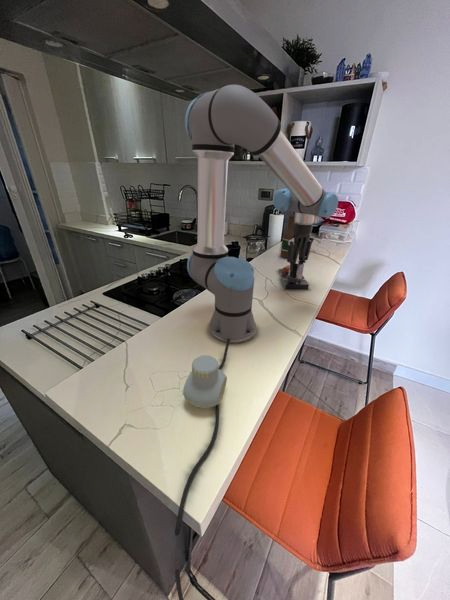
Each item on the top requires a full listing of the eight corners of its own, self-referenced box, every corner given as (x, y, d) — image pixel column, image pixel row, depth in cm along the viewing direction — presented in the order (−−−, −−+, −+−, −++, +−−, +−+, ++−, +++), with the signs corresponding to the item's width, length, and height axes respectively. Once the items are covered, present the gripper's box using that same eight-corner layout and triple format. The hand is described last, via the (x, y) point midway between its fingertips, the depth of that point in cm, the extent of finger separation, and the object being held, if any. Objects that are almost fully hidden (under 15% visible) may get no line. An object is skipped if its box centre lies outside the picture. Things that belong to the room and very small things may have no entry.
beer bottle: (277, 255, 153) (282, 213, 141) (288, 253, 156) (293, 212, 144) (285, 259, 147) (291, 216, 135) (296, 257, 150) (302, 215, 138)
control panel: (308, 289, 113) (309, 284, 111) (285, 289, 112) (285, 283, 111) (301, 279, 122) (302, 274, 121) (280, 279, 122) (281, 274, 121)
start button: (293, 271, 124) (294, 268, 123) (286, 271, 124) (286, 267, 123) (292, 268, 127) (292, 265, 127) (284, 268, 127) (285, 265, 126)
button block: (299, 279, 123) (300, 273, 121) (282, 278, 123) (283, 273, 121) (294, 271, 131) (295, 265, 130) (278, 270, 131) (279, 265, 130)
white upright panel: (301, 281, 114) (304, 263, 110) (297, 282, 113) (300, 264, 109) (292, 276, 119) (294, 259, 115) (287, 277, 118) (290, 260, 114)
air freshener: (215, 418, 56) (215, 385, 51) (180, 409, 58) (177, 376, 53) (228, 381, 65) (229, 351, 60) (198, 375, 67) (196, 344, 62)
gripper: (310, 219, 110) (301, 270, 122) (282, 223, 104) (276, 276, 115) (323, 223, 105) (313, 276, 116) (295, 226, 98) (287, 282, 109)
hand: (295, 276), depth 115 cm, fingers closed on white upright panel, 2 cm apart
